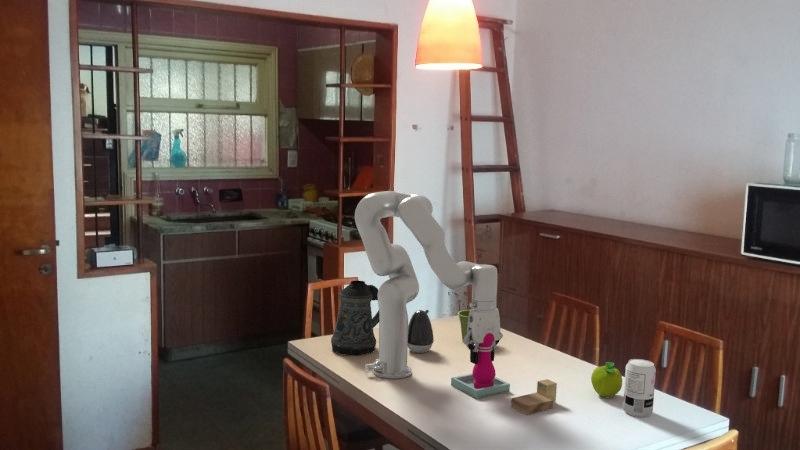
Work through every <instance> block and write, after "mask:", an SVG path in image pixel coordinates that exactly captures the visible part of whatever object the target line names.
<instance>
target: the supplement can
mask: <svg viewBox="0 0 800 450" xmlns="http://www.w3.org/2000/svg"><path fill="white" fill-rule="evenodd" d="M656 373H657V369H656V367H655V363H653V362H652V361H651V360H646V359H642V358H641V359H640V358H631V359H629V360H628V362H627V363H626V365H625V373H624V387H623V388H624V389H623V399H622V401H623V402H622V404H623V405H622V409H623V411H624V412H625V413H626V414H627V415H628V416H629V415H630V416H632V417H634V418H635V417H636V418H648V417H650V416H651V415H652V414H653V411H654V401H655V399H654V398H655V387H656Z"/></svg>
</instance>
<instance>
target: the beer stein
mask: <svg viewBox="0 0 800 450" xmlns="http://www.w3.org/2000/svg"><path fill="white" fill-rule="evenodd" d="M378 290H379V288H377V286H375V285H373V284H367V283H366V281H364V280H351V282H350V283H349V284H348V285H347V286H345V287H344V288H343V289H341V291H339V293H338V297H339V302H340V303H339V307H338V311H337V312H338V313H337V320H336V323H335V327H334V331H333V334H332V336H331V339H330V342H331V348H332V351H333V353H336V354H337V355H341V356H342V355H343V356H347V357H348V356H351V357H352V356H353V357H354V356H355V357H357V356H358V357H359V356H360V357H361V356H366V355H369V354H372V353H374V352H375V350H376V345H377V339H376V336H375V333H374V328H375V327H376V326H377V325H378V324H379V309H378V310H377V311H376V313H375V314H374V316H373V315H372V314H373V313H372V306H371V305H372V303H371V302H373V301H378V298H377V295H378ZM373 351H374V352H373Z"/></svg>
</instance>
